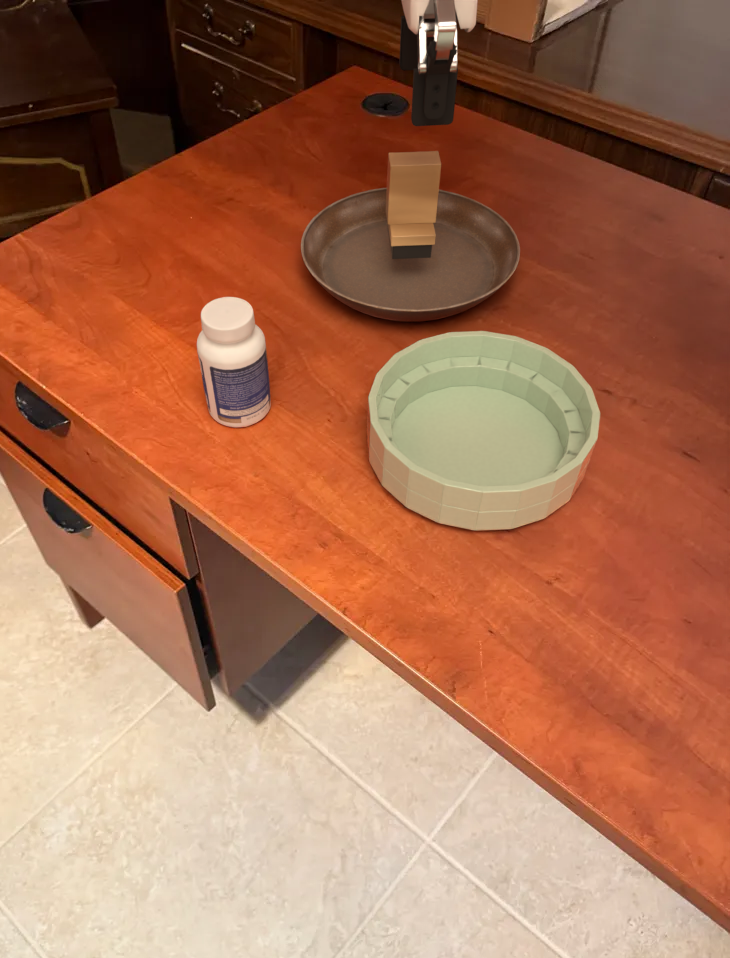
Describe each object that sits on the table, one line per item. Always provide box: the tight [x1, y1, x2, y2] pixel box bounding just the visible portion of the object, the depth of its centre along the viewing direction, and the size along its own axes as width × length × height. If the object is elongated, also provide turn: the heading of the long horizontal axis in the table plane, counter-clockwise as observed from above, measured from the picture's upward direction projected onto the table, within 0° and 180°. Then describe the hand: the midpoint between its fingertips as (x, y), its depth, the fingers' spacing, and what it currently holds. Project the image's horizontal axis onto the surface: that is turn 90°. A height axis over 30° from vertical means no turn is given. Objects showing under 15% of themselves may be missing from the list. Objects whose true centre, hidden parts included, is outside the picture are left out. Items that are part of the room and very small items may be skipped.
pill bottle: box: [196, 296, 272, 428], centre depth 66 cm, size 5×5×10 cm
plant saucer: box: [300, 187, 521, 322], centre depth 79 cm, size 21×21×3 cm
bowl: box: [366, 330, 601, 532], centre depth 64 cm, size 17×17×5 cm
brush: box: [386, 150, 442, 259], centre depth 75 cm, size 6×4×8 cm
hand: (424, 94), depth 67 cm, fingers open, 9 cm apart
